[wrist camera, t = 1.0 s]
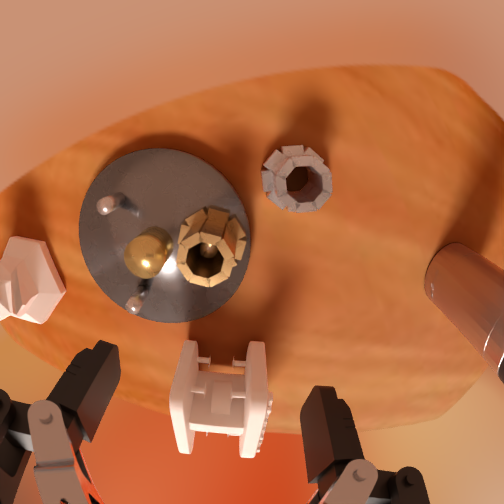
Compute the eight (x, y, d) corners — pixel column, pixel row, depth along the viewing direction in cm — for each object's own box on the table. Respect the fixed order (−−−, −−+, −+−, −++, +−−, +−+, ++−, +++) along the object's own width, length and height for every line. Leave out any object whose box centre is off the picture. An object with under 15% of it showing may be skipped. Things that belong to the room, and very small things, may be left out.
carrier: (238, 133, 26) (235, 129, 20) (259, 309, 33) (261, 338, 28) (70, 170, 26) (42, 177, 21) (112, 318, 33) (95, 342, 28)
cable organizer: (185, 325, 34) (164, 393, 23) (268, 332, 34) (275, 404, 23) (189, 397, 39) (178, 457, 28) (255, 403, 40) (257, 464, 29)
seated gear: (224, 194, 26) (217, 207, 21) (256, 248, 28) (258, 274, 23) (170, 226, 27) (152, 246, 22) (203, 276, 30) (194, 306, 24)
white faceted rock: (4, 226, 30) (-55, 234, 16) (73, 244, 33) (14, 261, 19) (3, 300, 31) (-49, 327, 17) (69, 325, 34) (22, 370, 20)
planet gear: (321, 143, 26) (339, 143, 20) (325, 204, 28) (343, 218, 23) (258, 148, 26) (261, 148, 21) (265, 210, 29) (269, 226, 23)
